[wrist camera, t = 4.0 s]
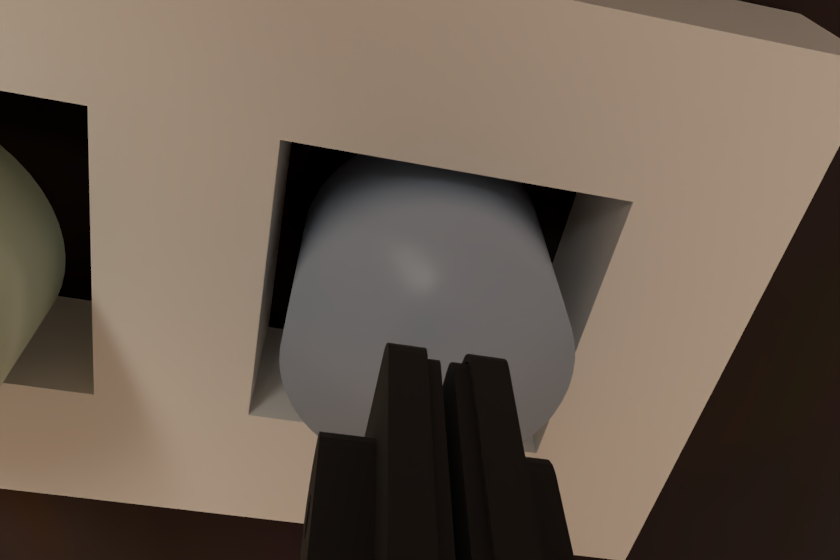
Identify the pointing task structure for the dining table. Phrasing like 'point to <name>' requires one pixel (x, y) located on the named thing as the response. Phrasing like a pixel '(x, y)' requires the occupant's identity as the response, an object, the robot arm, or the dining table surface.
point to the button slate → (421, 289)
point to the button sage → (25, 259)
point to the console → (421, 144)
